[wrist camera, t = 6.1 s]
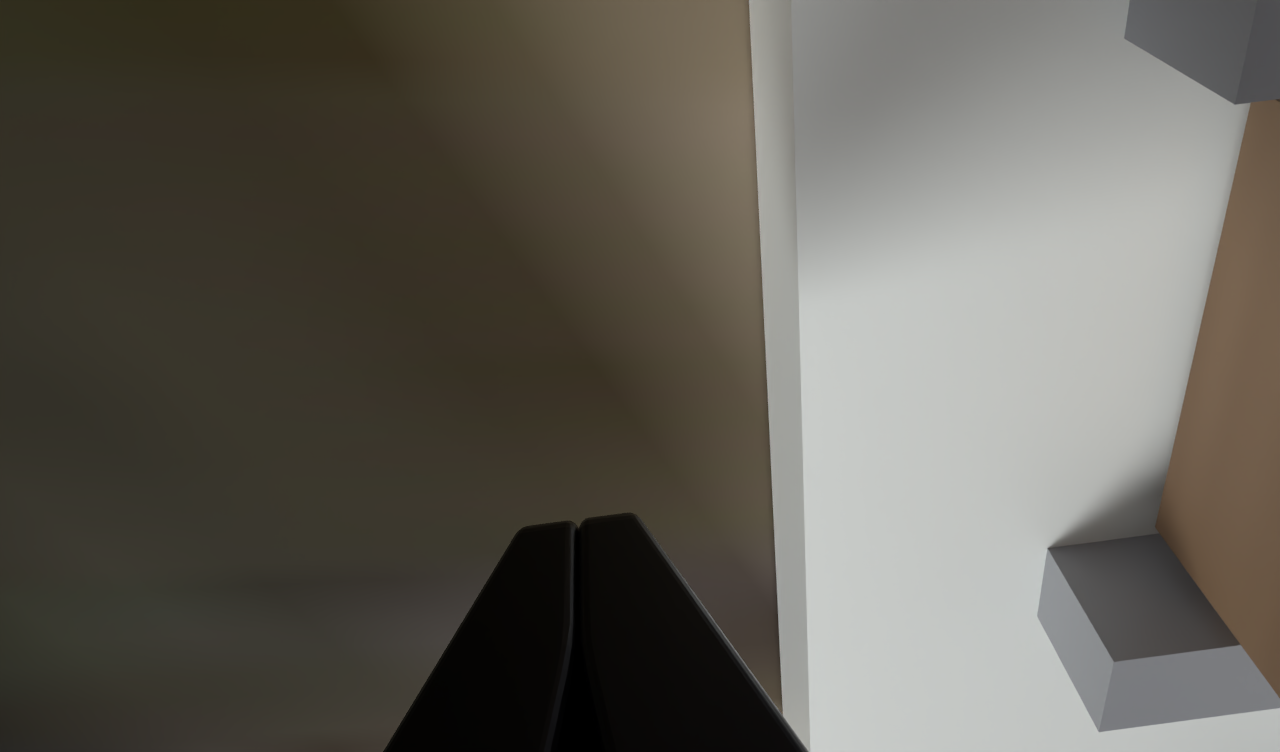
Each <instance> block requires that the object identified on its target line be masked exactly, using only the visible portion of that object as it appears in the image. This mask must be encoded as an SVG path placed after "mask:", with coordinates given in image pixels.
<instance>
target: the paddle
mask: <svg viewBox="0 0 1280 752" xmlns="http://www.w3.org/2000/svg"><path fill="white" fill-rule="evenodd" d="M1155 528H1156V529H1157V531H1158V532H1159V534H1160V535H1161V536H1162V538H1163V539H1164V540H1165V542H1166V543H1167V544H1168V546H1169V547H1170V549H1171V550H1172V551H1173V553H1174V554H1175V555H1176V557H1177V558H1178V560H1179V561H1180V562H1181V564H1182V565H1183V566H1184V568H1185V569H1186V571H1187V572H1188V573H1189V575H1190V576H1191V577H1192V579H1193V580H1194V581H1195V583H1196V584H1197V586H1198V587H1199V588H1200V590H1201V591H1202V592H1203V594H1204V595H1205V597H1206V598H1207V599H1208V601H1209V602H1210V603H1211V605H1212V606H1213V608H1214V609H1215V610H1216V612H1217V613H1218V614H1219V616H1220V617H1221V619H1222V620H1223V621H1224V623H1225V624H1226V625H1227V627H1228V628H1229V629H1230V631H1231V632H1232V634H1233V635H1234V636H1235V638H1236V639H1237V640H1238V642H1239V643H1240V645H1241V646H1242V647H1243V649H1244V650H1245V651H1246V653H1247V654H1248V656H1249V657H1250V658H1251V660H1252V661H1253V662H1254V664H1255V665H1256V666H1257V668H1258V669H1259V671H1260V672H1261V673H1262V675H1263V676H1264V677H1265V679H1266V680H1267V682H1268V683H1269V684H1270V686H1271V687H1272V688H1273V690H1274V691H1275V693H1276V694H1277V695H1278V697H1279V698H1280V99H1275V100H1267V101H1260V102H1252V103H1251V104H1250V108H1249V112H1248V117H1247V121H1246V126H1245V130H1244V135H1243V139H1242V144H1241V148H1240V152H1239V157H1238V161H1237V166H1236V170H1235V175H1234V179H1233V183H1232V188H1231V192H1230V197H1229V201H1228V206H1227V210H1226V214H1225V219H1224V223H1223V228H1222V232H1221V237H1220V241H1219V246H1218V250H1217V254H1216V259H1215V263H1214V268H1213V272H1212V277H1211V281H1210V285H1209V290H1208V294H1207V299H1206V303H1205V308H1204V312H1203V316H1202V321H1201V325H1200V330H1199V334H1198V339H1197V343H1196V348H1195V352H1194V356H1193V361H1192V365H1191V370H1190V374H1189V379H1188V383H1187V387H1186V392H1185V396H1184V401H1183V405H1182V410H1181V414H1180V418H1179V423H1178V427H1177V432H1176V436H1175V441H1174V445H1173V450H1172V454H1171V458H1170V463H1169V467H1168V472H1167V476H1166V481H1165V485H1164V489H1163V494H1162V498H1161V503H1160V507H1159V512H1158V516H1157V520H1156V525H1155Z"/></svg>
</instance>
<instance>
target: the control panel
mask: <svg viewBox="0 0 1280 752" xmlns="http://www.w3.org/2000/svg"><path fill="white" fill-rule="evenodd" d="M749 12H750V33H751V54H752V75H753V96H754V117H755V138H756V159H757V180H758V201H759V222H760V243H761V264H762V285H763V306H764V327H765V348H766V369H767V390H768V412H769V433H770V454H771V475H772V496H773V517H774V538H775V559H776V580H777V601H778V622H779V643H780V664H781V685H782V706H783V717H784V718H785V719H786V721H787V722H788V724H789V725H790V726H791V728H792V729H793V730H794V732H795V733H796V735H797V736H798V737H799V739H800V740H801V742H802V743H803V744H804V746H805V747H806V748H807V750H808V751H809V752H1280V698H1279V697H1278V695H1277V694H1276V693H1275V691H1274V690H1273V688H1272V687H1271V686H1270V684H1269V683H1268V682H1267V680H1266V679H1265V677H1264V676H1263V675H1262V673H1261V672H1260V671H1259V669H1258V668H1257V666H1256V665H1255V664H1254V662H1253V661H1252V660H1251V658H1250V657H1249V656H1248V654H1247V653H1246V651H1245V650H1244V649H1243V647H1242V646H1241V645H1240V643H1239V642H1238V640H1237V639H1236V638H1235V636H1234V635H1233V634H1232V632H1231V631H1230V629H1229V628H1228V627H1227V625H1226V624H1225V623H1224V621H1223V620H1222V619H1221V617H1220V616H1219V614H1218V613H1217V612H1216V610H1215V609H1214V608H1213V606H1212V605H1211V603H1210V602H1209V601H1208V599H1207V598H1206V597H1205V595H1204V594H1203V592H1202V591H1201V590H1200V588H1199V587H1198V586H1197V584H1196V583H1195V581H1194V580H1193V579H1192V577H1191V576H1190V575H1189V573H1188V572H1187V571H1186V569H1185V568H1184V566H1183V565H1182V564H1181V562H1180V561H1179V560H1178V558H1177V557H1176V555H1175V554H1174V553H1173V551H1172V550H1171V549H1170V547H1169V546H1168V544H1167V543H1166V542H1165V540H1164V539H1163V538H1162V536H1161V535H1160V534H1159V532H1158V531H1157V529H1156V528H1155V525H1156V520H1157V516H1158V512H1159V507H1160V503H1161V498H1162V494H1163V489H1164V485H1165V481H1166V476H1167V472H1168V467H1169V463H1170V458H1171V454H1172V450H1173V445H1174V441H1175V436H1176V432H1177V427H1178V423H1179V418H1180V414H1181V410H1182V405H1183V401H1184V396H1185V392H1186V387H1187V383H1188V379H1189V374H1190V370H1191V365H1192V361H1193V356H1194V352H1195V348H1196V343H1197V339H1198V334H1199V330H1200V325H1201V321H1202V316H1203V312H1204V308H1205V303H1206V299H1207V294H1208V290H1209V285H1210V281H1211V277H1212V272H1213V268H1214V263H1215V259H1216V254H1217V250H1218V246H1219V241H1220V237H1221V232H1222V228H1223V223H1224V219H1225V214H1226V210H1227V206H1228V201H1229V197H1230V192H1231V188H1232V183H1233V179H1234V175H1235V170H1236V166H1237V161H1238V157H1239V152H1240V148H1241V144H1242V139H1243V135H1244V130H1245V126H1246V121H1247V117H1248V112H1249V108H1250V104H1251V103H1252V102H1260V101H1267V100H1275V99H1280V0H749Z"/></svg>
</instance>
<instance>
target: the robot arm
mask: <svg viewBox="0 0 1280 752" xmlns="http://www.w3.org/2000/svg"><path fill="white" fill-rule="evenodd" d="M383 752H809V751H808V750H807V748H806V747H805V746H804V744H803V743H802V742H801V740H800V739H799V737H798V736H797V735H796V733H795V732H794V730H793V729H792V728H791V726H790V725H789V724H788V722H787V721H786V719H785V718H784V717H783V715H782V714H781V712H780V711H779V710H778V708H777V707H776V705H775V704H774V703H773V701H772V700H771V699H770V697H769V696H768V694H767V693H766V692H765V690H764V689H763V687H762V686H761V685H760V683H759V682H758V681H757V679H756V678H755V676H754V675H753V674H752V672H751V671H750V669H749V668H748V667H747V665H746V664H745V662H744V661H743V660H742V658H741V657H740V656H739V654H738V653H737V651H736V650H735V649H734V647H733V646H732V644H731V643H730V642H729V640H728V639H727V638H726V636H725V635H724V633H723V632H722V631H721V629H720V628H719V626H718V625H717V624H716V622H715V621H714V619H713V618H712V617H711V615H710V614H709V613H708V611H707V610H706V608H705V607H704V606H703V604H702V603H701V601H700V600H699V599H698V597H697V596H696V594H695V593H694V592H693V590H692V589H691V588H690V586H689V585H688V583H687V582H686V581H685V579H684V578H683V576H682V575H681V574H680V572H679V571H678V570H677V568H676V567H675V565H674V564H673V563H672V561H671V560H670V558H669V557H668V556H667V554H666V553H665V551H664V550H663V549H662V547H661V546H660V545H659V543H658V542H657V540H656V539H655V538H654V536H653V535H652V533H651V532H650V531H649V529H648V528H647V527H646V525H645V524H644V522H643V521H642V520H641V519H640V518H639V517H638V516H637V515H636V514H633V513H622V514H614V515H607V516H599V517H592V518H587V519H585V520H584V521H583V522H582V523H581V525H580V527H579V528H578V526H577V525H576V524H575V523H574V522H572V521H561V522H554V523H546V524H539V525H531V526H526V527H523V528H522V529H520V530H519V531H518V532H517V533H516V535H515V536H514V538H513V539H512V541H511V543H510V544H509V546H508V548H507V549H506V551H505V553H504V554H503V556H502V557H501V559H500V561H499V562H498V564H497V566H496V567H495V569H494V571H493V572H492V574H491V576H490V577H489V579H488V581H487V582H486V584H485V585H484V587H483V589H482V590H481V592H480V594H479V595H478V597H477V599H476V600H475V602H474V604H473V605H472V607H471V608H470V610H469V612H468V613H467V615H466V617H465V618H464V620H463V622H462V623H461V625H460V627H459V628H458V630H457V631H456V633H455V635H454V636H453V638H452V640H451V641H450V643H449V645H448V646H447V648H446V650H445V651H444V653H443V654H442V656H441V658H440V659H439V661H438V663H437V664H436V666H435V668H434V669H433V671H432V673H431V674H430V676H429V677H428V679H427V681H426V682H425V684H424V686H423V687H422V689H421V691H420V692H419V694H418V696H417V697H416V699H415V701H414V702H413V704H412V705H411V707H410V709H409V710H408V712H407V714H406V715H405V717H404V719H403V720H402V722H401V724H400V725H399V727H398V728H397V730H396V732H395V733H394V735H393V737H392V738H391V740H390V742H389V743H388V745H387V747H386V748H385V750H384V751H383Z"/></svg>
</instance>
